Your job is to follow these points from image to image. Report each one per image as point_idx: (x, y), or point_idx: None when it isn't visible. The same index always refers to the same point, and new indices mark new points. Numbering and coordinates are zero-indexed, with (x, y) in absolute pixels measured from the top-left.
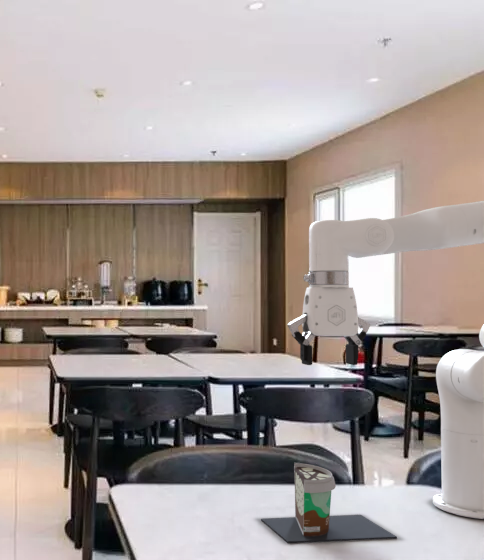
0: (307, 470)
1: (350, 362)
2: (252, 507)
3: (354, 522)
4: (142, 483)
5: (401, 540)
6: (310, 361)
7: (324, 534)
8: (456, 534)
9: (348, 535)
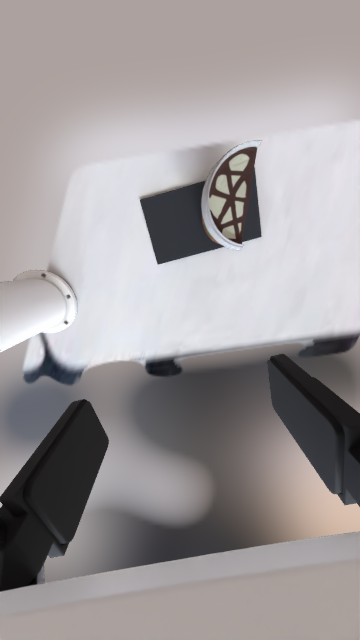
0: (229, 231)
1: (95, 420)
2: (258, 276)
3: (170, 238)
4: (348, 334)
5: (137, 195)
6: (284, 360)
7: None
8: (78, 222)
9: (187, 196)
